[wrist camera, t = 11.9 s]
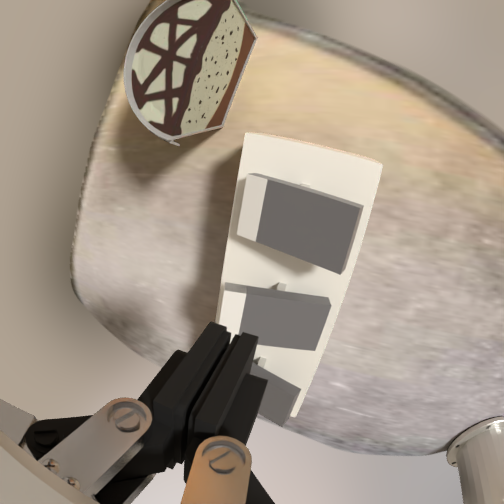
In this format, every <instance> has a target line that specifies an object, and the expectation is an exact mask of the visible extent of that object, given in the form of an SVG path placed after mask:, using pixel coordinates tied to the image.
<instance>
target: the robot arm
mask: <svg viewBox="0 0 504 504" xmlns="http://www.w3.org/2000/svg"><path fill="white" fill-rule="evenodd" d="M258 338H259V337H258V336H255V335H252V334H249V333H245V332H242V334H241V335H237V334H235V336H234V337H233V339H232V341H231V343H230V339H231V332H228V331H227V327H226V326H223V325H220V324H217V323H214V322H210V323H209V324H208V326H207V327H206V329H205V330H204V331H203V333H202V334H201V336H200V337H199V338H198V340H197V341H196V342H195V344H194V345H193V347H192V348H191V349H190V351H189V352H188V353H186V352H183V351H181V350H177V351H175V352H174V354H173V355H172V356H171V357H170V359H169V360H168V361H167V362H166V364H165V365H164V366H163V368H162V369H161V371H160V372H159V373H158V374H157V375H156V377H155V378H154V379H153V380H152V382H151V383H150V384H149V385H148V387H147V388H146V389H145V391H144V392H143V393H142V394H141V396H140V397H139V398H138V400H136V399H133V398H118V399H114V400H112V401H110V402H109V403H107V404H106V405H105V406H104V407H103V408H102V409H100V410H99V411H98V412H97V413H95V414H94V415H90V416H81V417H71V418H60V419H47V420H41V421H39V420H37V419H36V417H35V416H34V415H32V414H29V413H27V412H25V411H23V410H21V409H19V408H17V407H15V406H13V405H11V404H9V403H7V402H5V401H3V400H1V399H0V504H131V503H132V502H133V500H134V499H135V498H136V497H137V496H138V495H139V494H140V492H141V491H143V489H144V488H145V487H146V486H147V485H148V484H149V483H150V481H151V480H152V479H153V478H154V476H155V475H156V473H160V472H164V471H165V470H166V468H167V467H168V468H171V469H173V468H174V466H175V464H176V463H180V464H182V463H183V462H184V481H185V483H186V487H185V491H184V494H183V497H182V501H181V504H275V503H274V502H273V500H272V499H271V498H270V496H269V495H268V494H267V492H266V491H265V489H264V488H263V487H262V485H261V484H260V482H259V481H258V479H257V478H256V477H255V475H254V474H253V472H252V471H251V464H252V458H251V454H250V452H249V449H248V448H247V447H246V443H247V441H248V438H249V435H250V433H251V430H252V427H253V425H254V422H255V419H256V416H257V414H258V411H259V408H260V405H261V402H262V399H263V396H264V393H265V390H266V386H267V383H268V380H267V379H264V378H260V377H257V376H254V375H251V374H250V371H251V367H252V363H253V359H254V355H255V351H256V347H257V343H258ZM446 456H447V461H448V463H449V464H450V465H452V466H454V467H458V471H459V476H460V483H461V489H462V495H463V503H464V504H504V417H495V418H492V419H488V420H486V421H483V422H481V423H479V424H477V425H475V426H473V427H471V428H470V429H468V430H466V431H465V432H464V433H462V434H461V435H460V436H459V437H457V438H456V439H455V440H454V441H453V442H452V444H451V445H450V447H449V448H448V450H447V455H446ZM184 460H185V461H184Z"/></svg>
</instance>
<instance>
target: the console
mask: <svg viewBox="0 0 504 504" xmlns="http://www.w3.org/2000/svg"><path fill="white" fill-rule="evenodd" d="M382 167H383V164H381V163H380V162H378V161H376V160H374V159H372V158H368V157H365V156H361V155H358V154H354V153H350V152H346V151H342V150H339V149H335V148H331V147H326V146H322V145H318V144H314V143H309V142H305V141H301V140H296V139H291V138H287V137H282V136H277V135H272V134H266V133H252V132H245V138H244V144H243V149H242V155H241V161H240V166H239V172H238V178H237V184H236V190H235V196H234V202H233V208H232V214H231V221H230V227H229V233H228V239H227V246H226V252H225V259H224V265H223V272H222V278H221V285H220V292H219V299H218V306H217V312H216V319H215V323H217V324H219V321H220V314H221V307H222V301H223V294H224V288H225V282H229V283H235V284H241V285H247V286H253V287H260V288H267V289H273V290H280V291H287V292H294V293H301V294H308V295H315V296H323V297H328V298H329V300H330V303H331V305H332V306H331V309H330V311H329V314H328V317H327V320H326V323H325V326H324V328H323V331H322V334H321V337H320V339H319V342H318V345H317V347H316V350H315V351H310V350H300V349H290V348H281V347H273V346H264V345H257V347H256V351H255V355H254V359H253V363H255V364H257V365H259V366H260V367H262V368H264V369H266V370H267V371H269V372H271V373H273V374H275V375H276V376H278V377H280V378H282V379H284V380H285V381H287V382H289V383H291V384H293V385H295V386H297V387H298V388H300V389H301V391H300V393H299V396H298V398H297V401H296V403H295V405H294V408H293V410H292V412H291V414H290V416H292V417H296V415H297V413H298V411H299V409H300V406H301V404H302V402H303V400H304V397H305V395H306V393H307V391H308V388H309V386H310V384H311V381H312V379H313V377H314V374H315V372H316V369H317V367H318V365H319V362H320V360H321V357H322V355H323V352H324V350H325V347H326V345H327V342H328V339H329V337H330V334H331V332H332V329H333V326H334V324H335V321H336V318H337V316H338V313H339V310H340V307H341V304H342V302H343V299H344V296H345V293H346V290H347V287H348V284H349V281H350V278H351V275H352V272H353V269H354V266H355V263H356V260H357V257H358V254H359V251H360V247H361V244H362V241H363V237H364V234H365V231H366V227H367V224H368V220H369V217H370V213H371V210H372V206H373V203H374V199H375V195H376V191H377V187H378V184H379V180H380V176H381V172H382ZM249 173H259V174H262V175H266V176H270V177H273V178H277V179H280V180H284V181H287V182H291V183H294V184H297V185H301V186H304V187H307V188H311V189H314V190H317V191H321V192H324V193H327V194H330V195H333V196H336V197H340V198H343V199H346V200H349V201H352V202H355V203H358V204H361V205H364V207H363V211H362V215H361V218H360V222H359V225H358V229H357V232H356V236H355V239H354V242H353V246H352V249H351V252H350V256H349V259H348V262H347V265H346V268H345V270H344V271H343V272H342V274H341V275H339V274H337V273H334V272H332V271H329V270H327V269H324V268H322V267H319V266H317V265H314V264H311V263H309V262H306V261H304V260H301V259H299V258H296V257H294V256H291V255H289V254H286V253H283V252H281V251H278V250H276V249H273V248H271V247H268V246H266V245H263V244H260V243H258V242H255V241H252V240H250V239H247V238H245V237H242V236H240V235H237V230H238V224H239V218H240V212H241V207H242V201H243V195H244V189H245V184H246V178H247V174H249ZM230 343H231V341H230Z"/></svg>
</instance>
